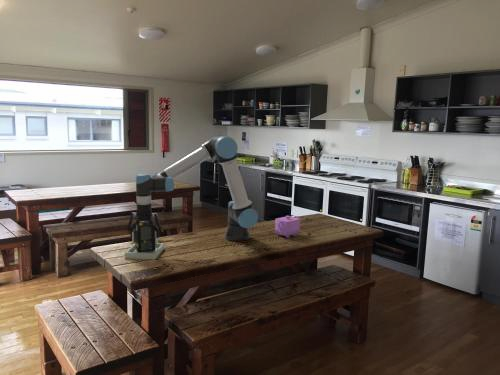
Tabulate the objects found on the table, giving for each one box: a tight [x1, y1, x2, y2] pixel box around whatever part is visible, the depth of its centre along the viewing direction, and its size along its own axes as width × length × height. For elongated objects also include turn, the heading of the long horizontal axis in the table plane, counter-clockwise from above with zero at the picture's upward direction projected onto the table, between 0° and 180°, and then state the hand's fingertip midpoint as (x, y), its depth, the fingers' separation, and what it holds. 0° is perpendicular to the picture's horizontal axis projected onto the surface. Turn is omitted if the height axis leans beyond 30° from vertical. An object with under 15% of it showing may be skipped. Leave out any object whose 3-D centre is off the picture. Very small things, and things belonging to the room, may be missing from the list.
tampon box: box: [134, 220, 156, 253], centre depth 227 cm, size 11×9×15 cm
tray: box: [124, 242, 165, 260], centre depth 228 cm, size 16×18×3 cm
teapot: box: [274, 215, 301, 239], centre depth 268 cm, size 20×10×12 cm, turn 131°
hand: (145, 243), depth 228 cm, fingers closed on tampon box, 11 cm apart
